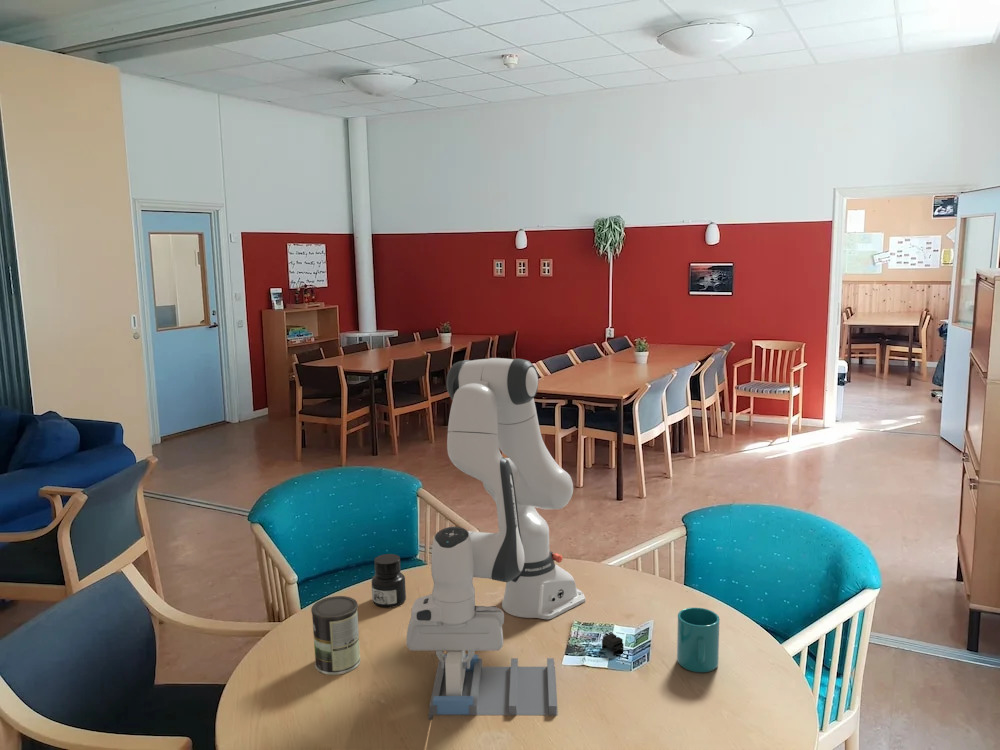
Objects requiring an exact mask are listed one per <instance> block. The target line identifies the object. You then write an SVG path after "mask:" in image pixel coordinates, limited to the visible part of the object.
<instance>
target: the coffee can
mask: <svg viewBox="0 0 1000 750" xmlns="http://www.w3.org/2000/svg"><path fill="white" fill-rule="evenodd" d="M358 605H359V604H358V601H357V600H356V599H355V598H353V597H350V596H346V595H345V596H344V595H336V596H329V597H325V598H323V599H319V600H318V601H316V602H315V603H314V604H312V606H311V610H310V612H311V616H312V617H311V618H312V629H313V632H312V634H313V644H314V645H313V646H314V657H315V658H314V661H315V662H314V663H315V664H314V665H315V669H316V671H318V673H321V674H323V675H326V676H338V675H344V674H347V673H349V672H350V673H351V672H352V671H353V670H355V669H356V668H358V666H360V664H361V652H360V638H359V637H360V631H359V616H358V615H359V614H358V608H359V607H358Z"/></svg>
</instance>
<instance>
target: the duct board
mask: <svg viewBox="0 0 1000 750" xmlns="http://www.w3.org/2000/svg"><path fill="white" fill-rule="evenodd" d="M444 656H445V657H447V654H444ZM467 656H468V654H466V657H467ZM556 674H557V673H556V666H555V658H553V657H549V658H548V657H547V658H546V666H519V659H518V657H515V658H512V657H511V658H510V666H483V658H481V657H480V658H479V654H474V656H473V658H472V659H471V661H470V669H466V671H465V678H464V684H463V690H462V696H446V672H445V669H442V662H441V661H440V660H439V659H438V664H437V669H436V672H435V678H434V683H433V688H432V691H431V697H430V701H429V705H428V707H429V711H428V720H433V719H434V716H559V713H558V712H559V711H558V710H559V709H558V696H557V695H558V694H557V693H558V691H557V676H556Z"/></svg>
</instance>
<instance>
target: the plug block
mask: <svg viewBox="0 0 1000 750" xmlns="http://www.w3.org/2000/svg"><path fill="white" fill-rule="evenodd" d="M446 652H447V654H446V655H447V657H446V662H445V672H446V696H462V690H463V684H464V678H465V671H466V669H463V658H465V657H466V655H467V654H466V651H446Z"/></svg>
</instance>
